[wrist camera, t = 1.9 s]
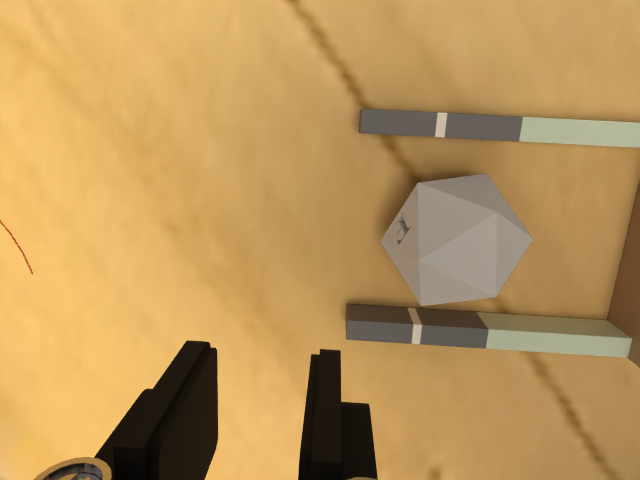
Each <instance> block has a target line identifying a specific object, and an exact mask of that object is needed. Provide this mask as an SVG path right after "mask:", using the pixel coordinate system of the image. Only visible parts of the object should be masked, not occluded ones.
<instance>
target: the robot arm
mask: <svg viewBox="0 0 640 480" xmlns="http://www.w3.org/2000/svg"><path fill="white" fill-rule="evenodd" d="M217 441H218V383H217V349H216V348H211V347H210V343H209V342H203V341H186V342H185V344H184V345H183V347H182V348H181V350H180V351H179V352H178V354H177V355H176V357H175V358H174V360H173V361H172V362H171V364H170V365H169V367H168V368H167V369H166V371H165V372H164V374H163V375H162V377H161V378H160V379H159V381H158V382H157V384H156V385H155V387H154V388H153V389H145V390H144V391H143V392H142V393H141V394H140V396H139V397H138V398H137V400H136V401H135V402H134V404H133V405H132V407H131V408H130V409H129V411H128V412H127V413H126V415H125V416H124V417H123V419H122V420H121V422H120V423H119V424H118V426H117V427H116V428H115V430H114V431H113V432H112V434H111V435H110V437H109V438H108V439H107V441H106V442H105V443H104V445H103V446H102V447H101V449H100V450H99V451H98V453H97V454H96V456H95V457H94V458H91V457H82V458H74V459H70V460H66V461H63V462H60V463H58V464H56V465H54V466H52V467H50V468H48V469H47V470H45V471H44V472H42V473H41V474H39V475H38V476H37V477H36V478H35V479H34V480H204V479H205V477H206V474H207V471H208V469H209V466H210V464H211V461H212V458H213V456H214V453H215V450H216V446H217ZM298 480H378V478H377V469H376V460H375V451H374V442H373V433H372V425H371V416H370V407H369V404H365V403H350V402H341V352H340V350H325V349H320V355H316V354H312V355H311V363H310V372H309V380H308V389H307V397H306V406H305V415H304V423H303V432H302V441H301V449H300V460H299V476H298Z"/></svg>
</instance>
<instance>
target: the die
mask: <svg viewBox="0 0 640 480" xmlns="http://www.w3.org/2000/svg"><path fill="white" fill-rule="evenodd" d="M532 240H533V238H532V236H531V235H530V233H529V232H528V231H527V229H526V228H525V226H524V225H523V224H522V222H521V221H520V219H519V218H518V217H517V215H516V214H515V212H514V211H513V210H512V208H511V207H510V206H509V204H508V203H507V201H506V200H505V199H504V197H503V196H502V194H501V193H500V192H499V190H498V189H497V187H496V186H495V185H494V183H493V182H492V180H491V179H490V178H489V176H488V175H487V173H486V174H479V175H471V176H464V177H456V178H449V179H441V180H434V181H426V182H419V183H417V185H416V186H415V188H414V189H413V191H412V192H411V194H410V196H409V197H408V199H407V200H406V202H405V203H404V205H403V206H402V208H401V210H400V211H399V213H398V214H397V216H396V217H395V219H394V221H393V222H392V224H391V225H390V227H389V228H388V230H387V231H386V233H385V235H384V236H383V238H382V239H381V241H380V243H381V245H382V246H383V248H384V249H385V251H386V252H387V254H388V256H389V257H390V259H391V260H392V262H393V263H394V265H395V266H396V268H397V270H398V271H399V273H400V274H401V276H402V277H403V279H404V280H405V282H406V284H407V285H408V287H409V288H410V290H411V291H412V293H413V294H414V296H415V297H416V299H417V301H418V302H419V304H420V305H421V306H427V305H436V304H444V303H452V302H461V301H469V300H477V299H486V298H494V297H496V296H497V295H498V293H499V292H500V290H501V289H502V287H503V285H504V284H505V282H506V281H507V279H508V278H509V276H510V275H511V273H512V271H513V270H514V268H515V267H516V265H517V264H518V262H519V261H520V259H521V257H522V256H523V254H524V253H525V251H526V250H527V248H528V247H529V245H530V243H531V242H532Z"/></svg>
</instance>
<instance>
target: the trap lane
mask: <svg viewBox="0 0 640 480" xmlns="http://www.w3.org/2000/svg"><path fill="white" fill-rule="evenodd" d="M359 133H369V134H388V135H407V136H426V137H445V138H464V139H483V140H502V141H521V142H540V143H559V144H578V145H597V146H616V147H635V148H640V123H634V122H615V121H595V120H576V119H556V118H537V117H517V116H498V115H478V114H459V113H439V112H420V111H400V110H380V109H361V110H360V123H359ZM345 322H346V339H347V340H362V341H378V342H393V343H409V344H424V345H440V346H455V347H471V348H486V349H501V350H517V351H532V352H548V353H563V354H579V355H594V356H610V357H625V358H629V359H630V360H631V361H632V362H634V363H635V364H636V365H637V366H639V367H640V182H639V186H638V191H637V195H636V199H635V204H634V208H633V212H632V216H631V221H630V225H629V229H628V233H627V238H626V242H625V246H624V251H623V255H622V259H621V263H620V268H619V272H618V276H617V280H616V285H615V289H614V293H613V298H612V302H611V306H610V310H609V315H608V319H607V320H596V319H580V318H564V317H548V316H532V315H517V314H501V313H485V312H469V311H453V310H437V309H421V308H405V307H389V306H373V305H357V304H347V307H346V321H345Z"/></svg>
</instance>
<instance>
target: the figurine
mask: <svg viewBox="0 0 640 480" xmlns="http://www.w3.org/2000/svg"><path fill="white" fill-rule="evenodd" d="M0 223H1V224H2V225H3V226H4V227H5V225H4V224H3V223H2V222H1V221H0ZM5 229H6V230H7V231H8V232H9V233H10V235H11V237H12V238H13V240H14V241H15V243H16V244H17V246H18V247H19V249H20V251H21V252H22V254H23V256H24V258H25V260H26V262H27V265H28V267H29V269H30V271H31V273H32V274H33V272H32V270H31V268H30V266H29V263H28V261H27V259H26V257H25V255H24V253H23V251H22V250H21V248H20V246H19V245H18V243H17V242H16V240H15V239H14V237H13V236H12V234H11V232H10V231H9V230H8V229H7V228H6V227H5Z"/></svg>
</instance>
